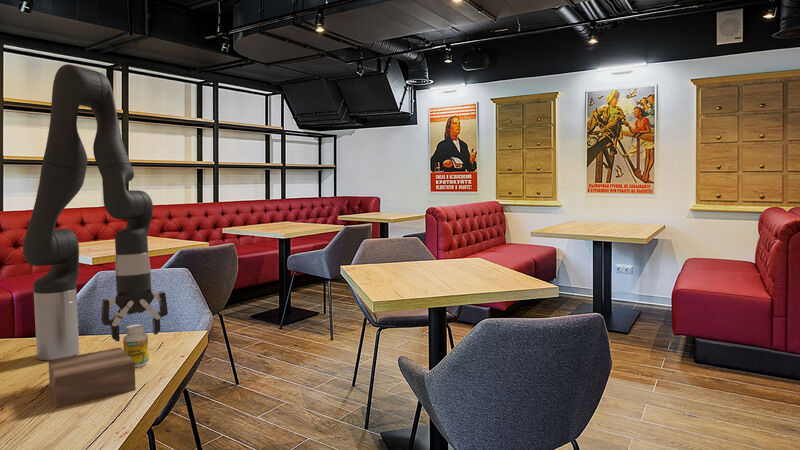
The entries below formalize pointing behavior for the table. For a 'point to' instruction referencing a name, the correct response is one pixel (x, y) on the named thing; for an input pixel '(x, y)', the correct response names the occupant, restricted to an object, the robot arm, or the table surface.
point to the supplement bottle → (136, 345)
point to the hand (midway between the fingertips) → (136, 337)
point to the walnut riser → (91, 376)
